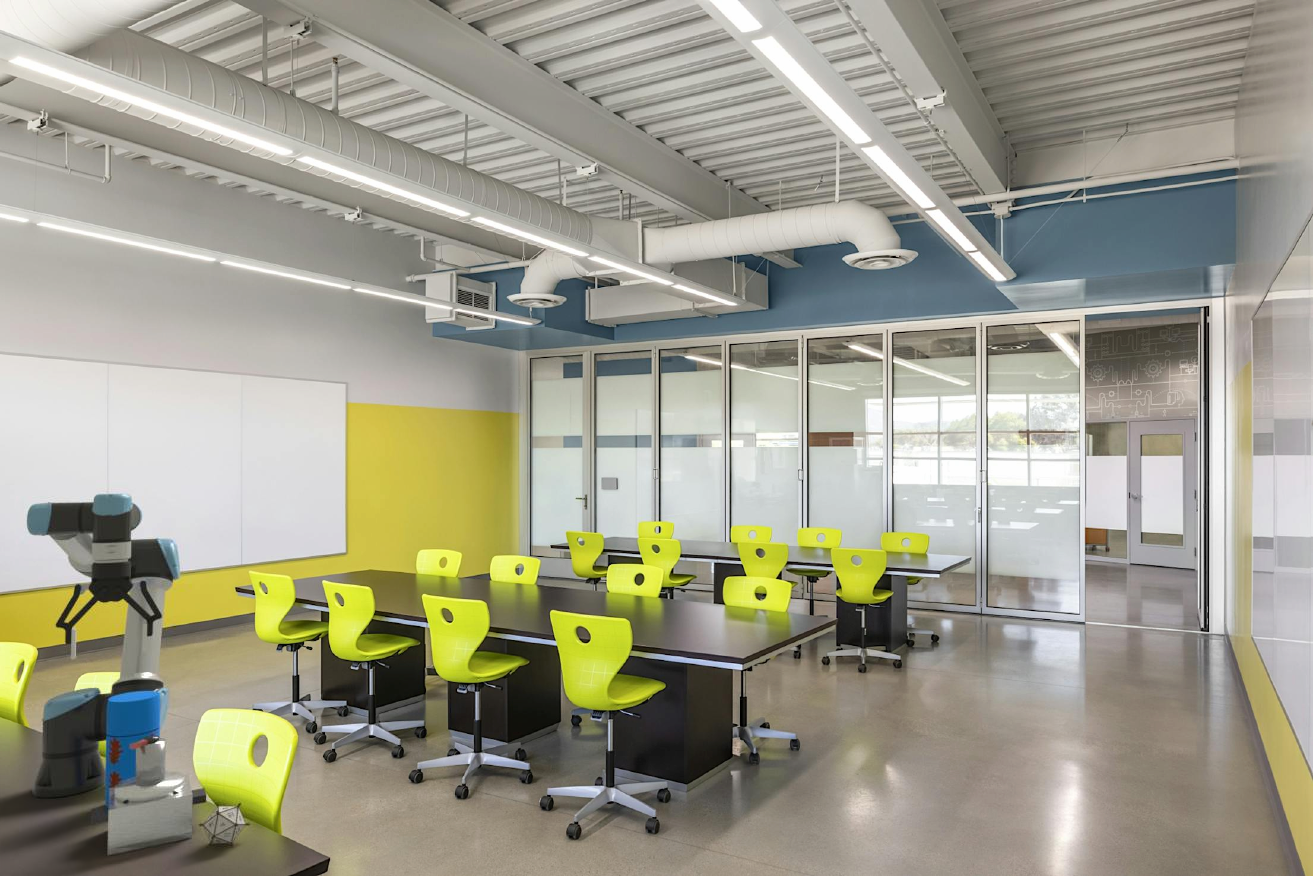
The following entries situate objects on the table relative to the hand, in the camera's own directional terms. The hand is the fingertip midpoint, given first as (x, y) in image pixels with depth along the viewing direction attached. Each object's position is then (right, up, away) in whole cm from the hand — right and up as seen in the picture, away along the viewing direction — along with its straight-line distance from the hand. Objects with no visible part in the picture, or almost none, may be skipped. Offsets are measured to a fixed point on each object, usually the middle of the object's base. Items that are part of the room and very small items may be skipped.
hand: (109, 654), depth 190 cm
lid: (+15, -30, -10) cm, 35 cm away
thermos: (0, -37, +7) cm, 38 cm away
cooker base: (+15, -36, -10) cm, 40 cm away
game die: (+34, -36, -16) cm, 52 cm away
